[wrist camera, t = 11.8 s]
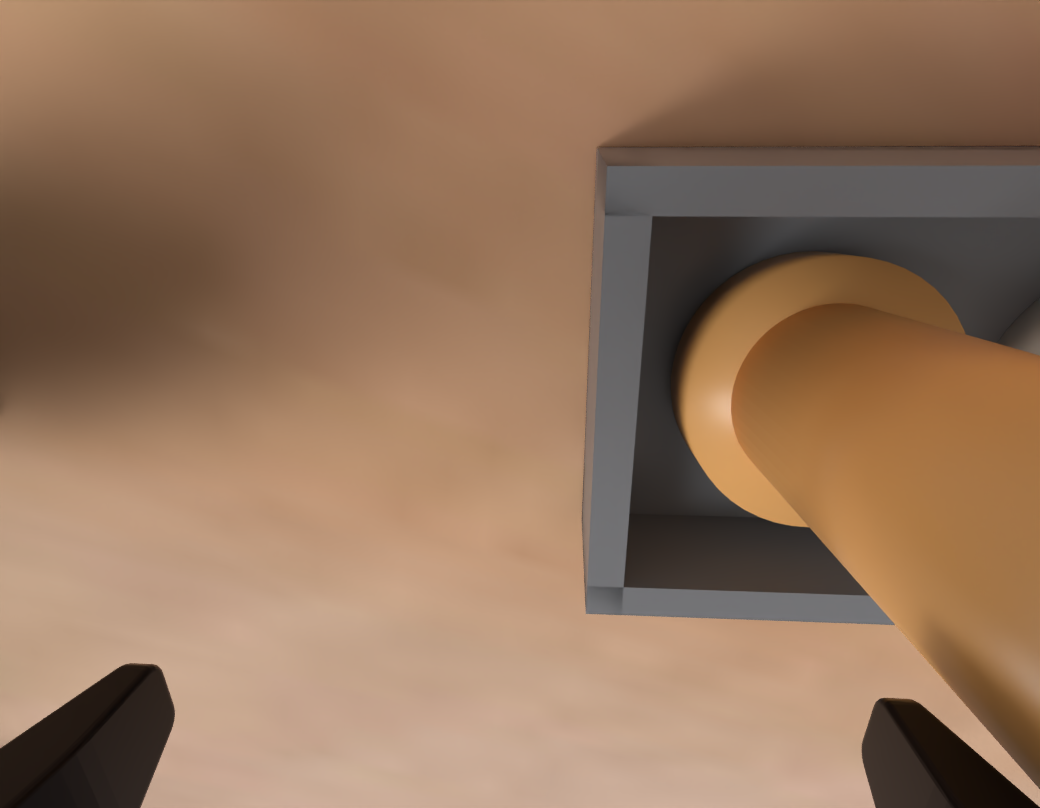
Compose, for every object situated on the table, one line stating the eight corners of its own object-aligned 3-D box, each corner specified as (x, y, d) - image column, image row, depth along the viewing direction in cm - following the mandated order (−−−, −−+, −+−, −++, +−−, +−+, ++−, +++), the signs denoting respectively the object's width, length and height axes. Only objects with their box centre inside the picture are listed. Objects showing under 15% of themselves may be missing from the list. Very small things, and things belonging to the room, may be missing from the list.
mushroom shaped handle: (754, 539, 20) (1135, 1099, 7) (621, 354, 18) (814, 662, 6) (970, 405, 18) (1879, 805, 6) (846, 195, 17) (1715, 150, 5)
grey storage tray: (581, 519, 23) (589, 686, 16) (596, 147, 18) (616, 182, 11) (1193, 537, 22) (1453, 722, 15) (1405, 145, 16) (1925, 182, 10)
